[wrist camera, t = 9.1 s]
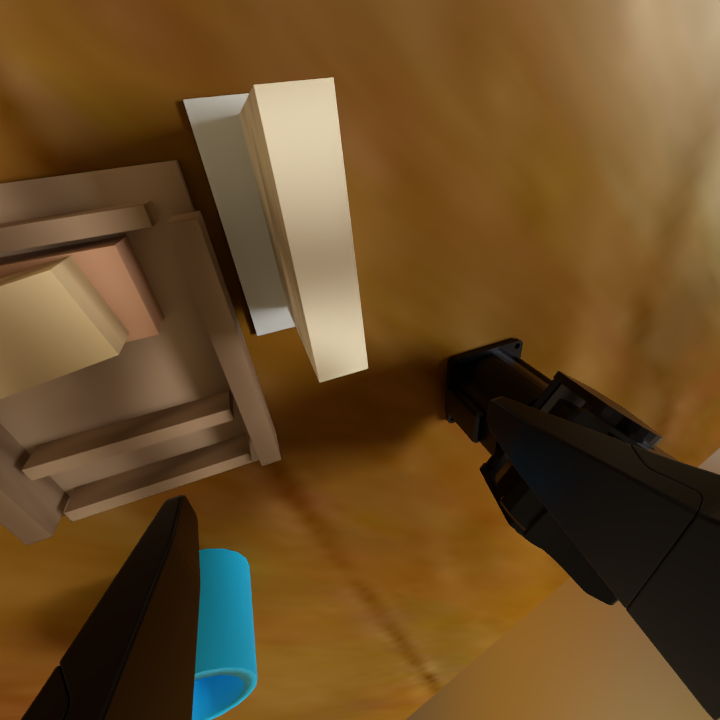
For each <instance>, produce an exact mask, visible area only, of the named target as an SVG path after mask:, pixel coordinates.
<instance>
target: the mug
mask: <svg viewBox="0 0 720 720" xmlns="http://www.w3.org/2000/svg"><path fill="white" fill-rule="evenodd" d="M199 559H200V602H199V618H198V633H197V649H196V664H195V679H194V695H193V710H192V720H212V719H214V718H216V717H218V716H220V715H222V714H224V713H225V712H227V711H229V710H230V709H232V708H233V707H235V706H237V705H238V704H239V703H240V702H242V701H243V700H244V699H245V698H246V697H248V696H249V695H250V693H251V692H252V691H253V689H254V688H255V686H256V683H257V667H256V652H255V638H254V624H253V610H252V595H251V581H250V567H249V563H248V562H247V560H246V558H245V557H244V556H242V555H241V554H239V553H238V552H235V551H231V550H227V549H203V550H199Z"/></svg>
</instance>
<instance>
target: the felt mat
mask: <svg viewBox="0 0 720 720" xmlns="http://www.w3.org/2000/svg"><path fill="white" fill-rule="evenodd" d="M248 95H249V93H246V94H236V95H226V96H215V97H205V98H195V99H185V100H183V101H184V105H185V108H186V111H187V114H188V117H189V120H190V124H191V127H192V130H193V133H194V136H195V139H196V143H197V146H198V149H199V152H200V155H201V158H202V162H203V165H204V168H205V171H206V174H207V177H208V181H209V184H210V187H211V190H212V193H213V197H214V200H215V203H216V206H217V209H218V212H219V216H220V219H221V222H222V225H223V228H224V231H225V235H226V238H227V241H228V244H229V247H230V250H231V254H232V257H233V260H234V263H235V266H236V270H237V273H238V276H239V279H240V282H241V285H242V289H243V292H244V295H245V298H246V301H247V304H248V308H249V311H250V314H251V317H252V320H253V323H254V327H255V330H256V333H257V336H259V335H263V334H267V333H271V332H275V331H279V330H283V329H287V328H291V327H295V324H294V322H293V320H292V317H291V315H290V313H289V310H288V308H287V305H286V301H285V297H284V293H283V289H282V285H281V281H280V277H279V273H278V269H277V265H276V261H275V257H274V253H273V249H272V245H271V240H270V236H269V232H268V228H267V224H266V220H265V216H264V212H263V208H262V204H261V200H260V196H259V192H258V188H257V184H256V180H255V176H254V172H253V168H252V164H251V160H250V156H249V152H248V148H247V144H246V140H245V136H244V132H243V128H242V124H241V120H240V116H239V114H240V111H241V109H242V107H243V105H244V103H245V101H246V99H247V97H248Z"/></svg>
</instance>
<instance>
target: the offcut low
mask: <svg viewBox="0 0 720 720" xmlns="http://www.w3.org/2000/svg"><path fill="white" fill-rule="evenodd" d="M70 255H71V256H72V257H73V259H74V260H75V261H76V263H77V264H78V265H79V267H80V268H81V269H82V271H83V272H84V273H85V275H86V276H87V277H88V279H89V280H90V281H91V283H92V284H93V285H94V287H95V288H96V289H97V291H98V292H99V293H100V295H101V296H102V297H103V299H104V300H105V301H106V303H107V304H108V305H109V307H110V308H111V309H112V310H113V312H114V313H115V314H116V316H117V317H118V318H119V320H120V321H121V322H122V324H123V325H124V326H125V328H126V329H127V330H128V332H129V333H130V334H129V336H128V338H127V340H126V342H129V341H133V340H137V339H141V338H146V337H150V336H154V335H158V334H159V333H160V330H161V327H162V324H163V321H164V318H165V317H164V314H163V312H162V310H161V308H160V306H159V304H158V302H157V300H156V297H155V295H154V293H153V291H152V289H151V287H150V285H149V283H148V280H147V278H146V276H145V274H144V272H143V270H142V268H141V265H140V263H139V261H138V259H137V257H136V255H135V253H134V251H133V248H132V246H131V244H130V242H129V240H128V238H127V236H120V237H114V238H108V239H103V240H97V241H91V242H86V243H80V244H74V245H68V246H63V247H57V248H51V249H45V250H40V251H34V252H28V253H22V254H17V255H11V256H5V257H0V278H3V277H6V276H10V275H13V274H16V273H19V272H22V271H25V270H28V269H31V268H34V267H37V266H40V265H43V264H46V263H49V262H52V261H55V260H58V259H61V258H64V257H67V256H70Z"/></svg>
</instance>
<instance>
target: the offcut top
mask: <svg viewBox="0 0 720 720" xmlns="http://www.w3.org/2000/svg"><path fill="white" fill-rule="evenodd" d="M129 334H130V333H129V332H128V330H127V329H126V328H125V326H124V325H123V324H122V322H121V321H120V320H119V318H118V317H117V316H116V314H115V313H114V312H113V310H112V309H111V308H110V307H109V305H108V304H107V303H106V301H105V300H104V299H103V297H102V296H101V295H100V293H99V292H98V291H97V289H96V288H95V287H94V285H93V284H92V283H91V281H90V280H89V279H88V277H87V276H86V275H85V273H84V272H83V271H82V269H81V268H80V267H79V265H78V264H77V263H76V261H75V260H74V259H73V257H72V256H71V255H70V256H67V257H64V258H61V259H58V260H55V261H52V262H49V263H46V264H43V265H40V266H37V267H34V268H31V269H28V270H25V271H22V272H19V273H16V274H13V275H10V276H6V277H3V278H0V399H2V398H5V397H8V396H10V395H13V394H16V393H18V392H21V391H24V390H26V389H29V388H32V387H34V386H37V385H40V384H42V383H45V382H48V381H50V380H53V379H56V378H58V377H61V376H64V375H66V374H69V373H72V372H74V371H77V370H80V369H82V368H85V367H88V366H90V365H93V364H96V363H98V362H101V361H104V360H106V359H109V358H112V357H114V356H117V355H119V353H120V351H121V350H122V348H123V346H124V344H125V342H126V340H127V338H128V336H129Z"/></svg>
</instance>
